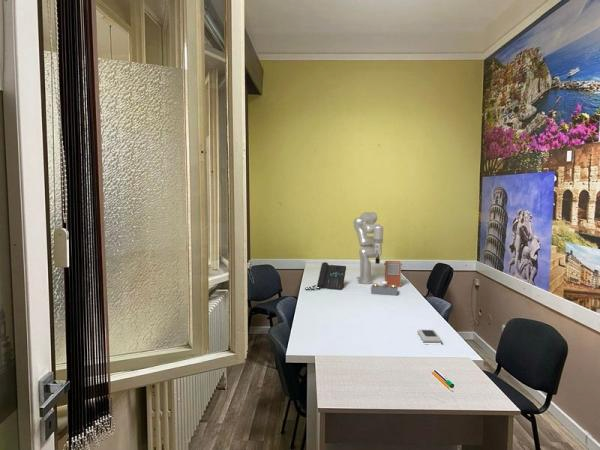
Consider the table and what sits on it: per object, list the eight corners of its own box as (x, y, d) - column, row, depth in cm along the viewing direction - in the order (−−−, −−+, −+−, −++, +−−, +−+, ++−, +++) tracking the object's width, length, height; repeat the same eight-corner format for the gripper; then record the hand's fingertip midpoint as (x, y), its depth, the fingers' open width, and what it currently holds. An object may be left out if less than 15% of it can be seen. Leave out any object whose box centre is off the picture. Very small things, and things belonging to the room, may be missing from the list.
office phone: (303, 290, 325) (303, 266, 323) (314, 283, 352) (313, 260, 350) (338, 293, 315) (338, 268, 313) (346, 285, 342) (346, 262, 340)
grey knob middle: (381, 288, 313) (381, 281, 313) (382, 287, 317) (382, 280, 317) (386, 289, 312) (386, 282, 312) (387, 287, 316) (387, 281, 316)
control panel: (383, 285, 342) (400, 285, 340) (384, 287, 335) (402, 287, 333) (383, 260, 340) (401, 260, 339) (384, 262, 333) (402, 262, 332)
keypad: (423, 338, 210) (417, 328, 225) (423, 345, 211) (417, 334, 225) (442, 338, 210) (434, 328, 224) (442, 345, 210) (434, 335, 225)
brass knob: (390, 292, 312) (390, 285, 311) (390, 291, 315) (391, 284, 315) (395, 292, 310) (396, 285, 310) (396, 291, 314) (396, 284, 314)
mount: (371, 293, 313) (371, 287, 312) (372, 290, 323) (372, 284, 322) (397, 295, 307) (397, 289, 307) (397, 292, 317) (397, 286, 317)
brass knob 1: (372, 291, 315) (372, 284, 315) (373, 290, 319) (373, 283, 319) (377, 291, 314) (377, 284, 314) (378, 290, 318) (378, 283, 318)
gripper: (381, 242, 310) (381, 265, 313) (383, 239, 325) (383, 261, 327) (372, 242, 313) (371, 265, 315) (374, 239, 327) (373, 261, 329)
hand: (377, 263), depth 321 cm, fingers closed
